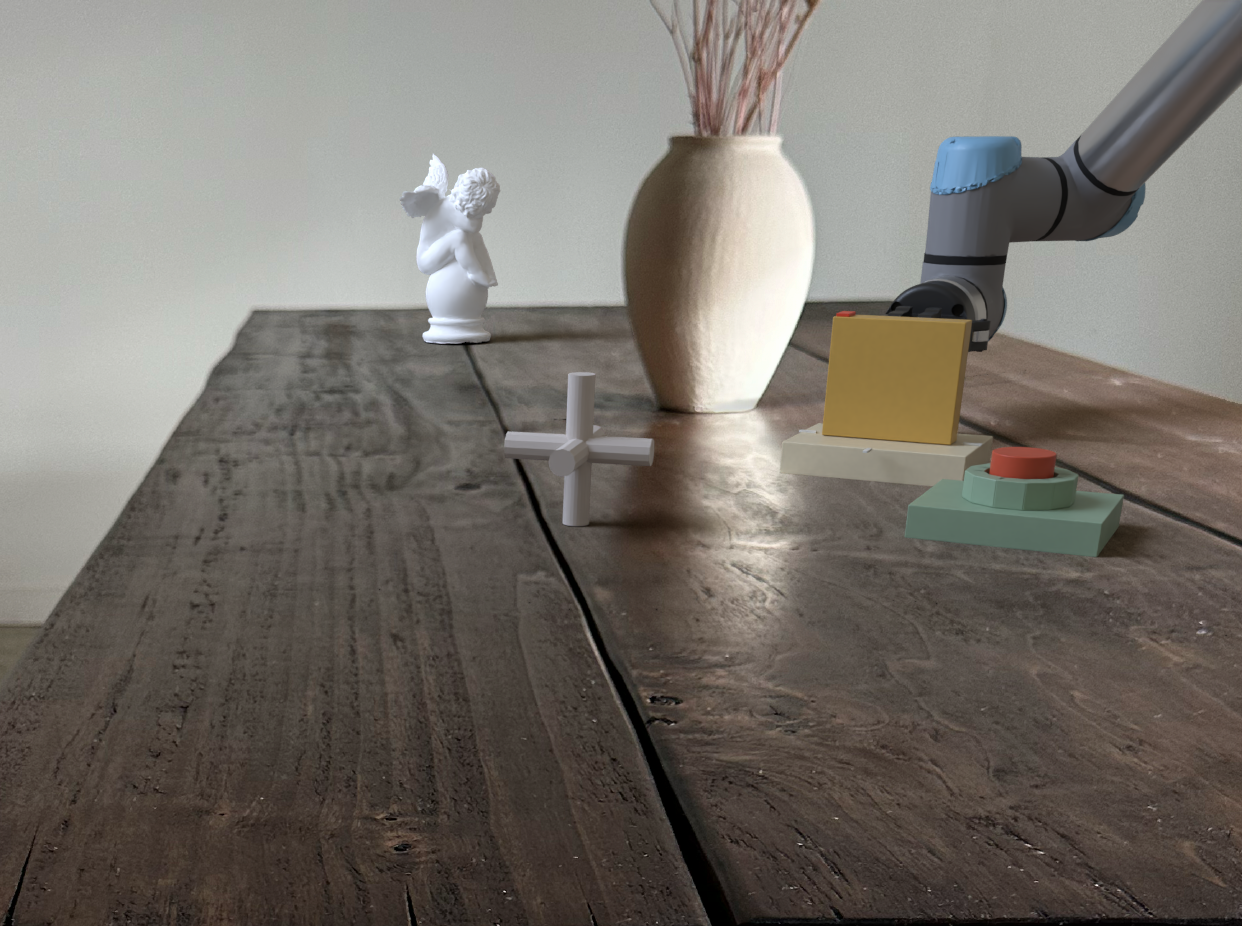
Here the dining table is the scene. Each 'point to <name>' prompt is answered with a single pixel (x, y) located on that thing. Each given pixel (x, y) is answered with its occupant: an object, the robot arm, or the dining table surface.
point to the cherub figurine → (454, 251)
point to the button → (1023, 463)
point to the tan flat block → (896, 377)
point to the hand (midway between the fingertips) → (866, 352)
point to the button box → (1016, 513)
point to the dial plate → (882, 458)
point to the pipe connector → (578, 448)
